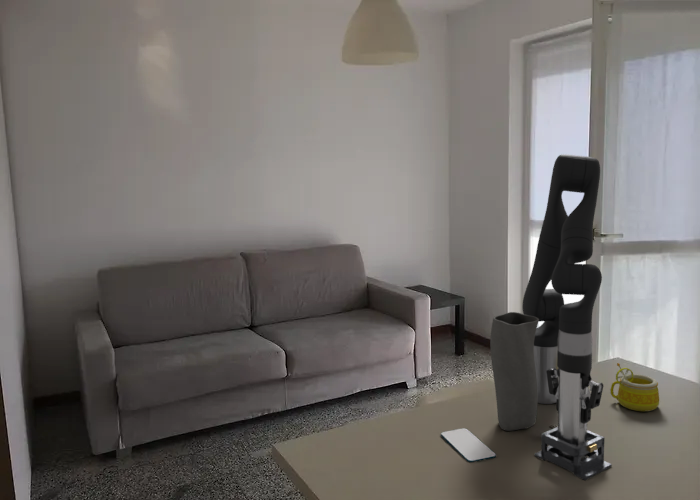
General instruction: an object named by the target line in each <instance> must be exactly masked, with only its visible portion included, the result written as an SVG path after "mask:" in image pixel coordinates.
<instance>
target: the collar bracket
mask: <svg viewBox="0 0 700 500" xmlns="http://www.w3.org/2000/svg"><path fill="white" fill-rule="evenodd" d="M540 438H541V440H540V441H541V442H540V443H541V444H540V445H541V447H540V448H541V449H540V450H539V451H537V452H535V453H534V454H533V455H534V457H536V458H537V459H539V460H542V461H548V462H550V463H552V464H554V465H557V466H558V467H560V468H563V469H565V470H567V471H568V472H571V473H573V475H574V477H577V478H579V479H582V480H584V481H587V480H589V479H591V478H593V477H595V476H596V475H599V474H600V473H602V472H604V471H606V470H608V469H609V468H612V466H613V465H612V463H610V462H608V461H605V436H602V435H600V434H598V433H595V432H593V431H590V430H588V429H587V442H586V443H584V444H582V445H580V446H578V447H576V446H574V445H572V444H569V443H567V442H565V441H562V440H560V439H558V426H557V427H554V428H552V429H549V430H546V431H545V432H542V433H541V437H540ZM558 449H559V450H561V451H563V452H565V453H568V454H570V455H572V456H574V462H573V461H571V460H568V459H566V458H564V457H562V456H560V455H558V454H557V453H558ZM585 454H587V457H586V459H584V460H582V461H580V460H581V456H583V455H585Z"/></svg>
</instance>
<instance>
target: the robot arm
mask: <svg viewBox="0 0 700 500" xmlns="http://www.w3.org/2000/svg"><path fill="white" fill-rule="evenodd" d="M600 176H601V165H600V162H599V160H598V158H596V157H593V156H585V155H576V154H567V153H566V154H564V153H563V154H562V153H561V154H559V155H558V156H557V158H555V161H554V164H553V168H552V173H551V177H550V186H549V191H548V198H547V203H546V209H545V214H544V217H543V221H542V227H541V230H540V233H539V236H538V237H539V238H538V242H537V246H536V250H535V251H536V252H535V256H534V263H533V266H532V270H531V273H530V276H529V279H528V282H527V286H526V288H525V291H524V295H523V298H522V314H524V315H529V316H534V317H537V318H538V319H539V322H543V323H542V324H540V326H537V329H536V333H535V338H534V360H535V368H536V376H537V391H538V401H537V404H544V405H546V404H547V405H551V404H556V405H555V406H556V411H557V412H558V402H559V369H560V370H562V371H565V372H568V373H575V374H579V373H580V378H581V379H582V382H581V388H582V389H583V390H584V389H585V388H586V386H587V387H588V393H587V394H586V395H585V394H584V395H582V393H581V391H580V397H579V399H580V403H581V406H582V408H581V423H583V424H585V423H587V424H588V423H589V422H590V421H591V419H592V410H593V409H595V408H598V407H599V406H600V405H601V401H602V400H601V399H602V395H603V391H604V384H603V382H597V381H594V380H593V379H592V376H591V371H592V370H593V369H592V367H593V365H592V364H593V335H592V331H593V329H592V328H593V327H592V326H593V312H594V305H595V303H596V302H595V301H596V299H597V296H598V293H599V291H600V288H601V284H602V281H603V275H602V272H601V269H600V268H599V267H598V266H596V265H595V264H591V263H583V262H586V261H588V260H590V259H591V258H592V256H593V251H594V219H595V213H596V207H597V201H598V195H599V194H598V193H599V186H600V180H601V179H600V178H601V177H600ZM564 191H565V192H570V193H572V192H573V193H580V194H581V193H582V194H583V197H582V198H581V201H580V202H579V204H578V205H577V206H576V207H575V208H573V210H572V211H571V213H570V214H569V215H568V214H567V213H568V212H567V211H566V208H565V206H564V202H563V197H562V195H563V192H564ZM550 282H551V286H552V288H547V287H548V285H549V283H550ZM563 295H573V296H577V295H578V296H583V297H582V298H581V299H580V300H579V301H575V302H570V303H569V302H568V303H565V300H564V296H563ZM589 387H590V388H589ZM585 397H587V402H586V401H585Z"/></svg>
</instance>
